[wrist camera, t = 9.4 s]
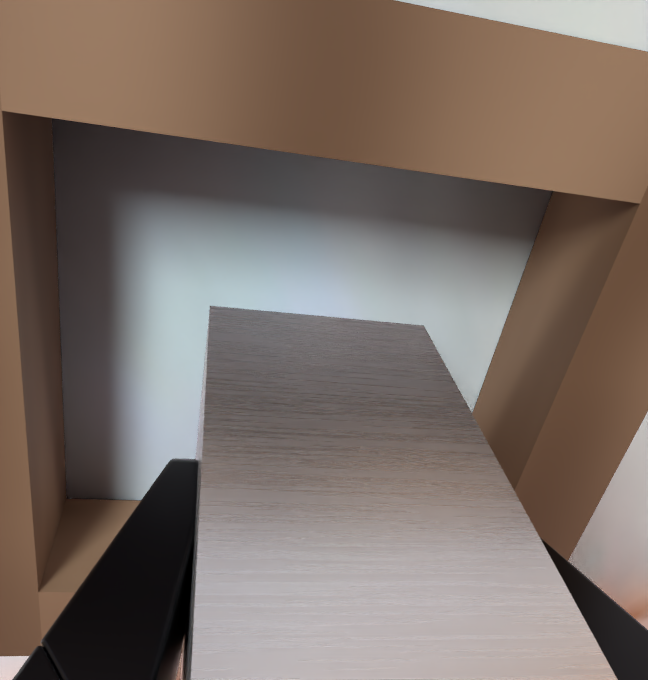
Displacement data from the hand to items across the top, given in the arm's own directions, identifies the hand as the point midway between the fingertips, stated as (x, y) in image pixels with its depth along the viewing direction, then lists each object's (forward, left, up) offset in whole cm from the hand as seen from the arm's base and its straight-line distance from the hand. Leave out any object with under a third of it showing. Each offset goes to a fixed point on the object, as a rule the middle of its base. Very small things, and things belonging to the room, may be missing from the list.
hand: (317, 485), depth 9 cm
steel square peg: (0, 0, -2) cm, 2 cm away
